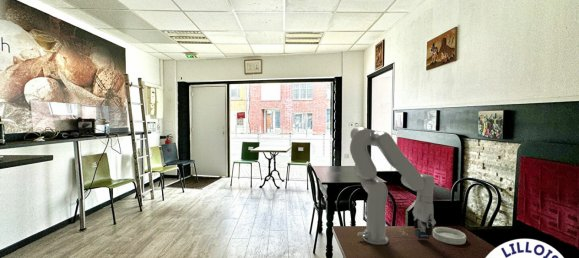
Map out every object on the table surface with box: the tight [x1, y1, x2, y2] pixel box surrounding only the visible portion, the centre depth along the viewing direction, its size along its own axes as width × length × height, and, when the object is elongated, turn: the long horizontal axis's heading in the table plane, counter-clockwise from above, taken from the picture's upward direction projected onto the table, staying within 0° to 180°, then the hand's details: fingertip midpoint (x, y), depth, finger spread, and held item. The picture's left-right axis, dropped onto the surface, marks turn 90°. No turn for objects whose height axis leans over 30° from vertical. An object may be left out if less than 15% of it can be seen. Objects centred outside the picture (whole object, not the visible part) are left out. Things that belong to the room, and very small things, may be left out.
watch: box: [414, 219, 430, 240], centre depth 144 cm, size 6×8×11 cm
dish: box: [432, 226, 467, 246], centre depth 147 cm, size 15×15×3 cm
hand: (422, 231), depth 144 cm, fingers closed on watch, 8 cm apart
